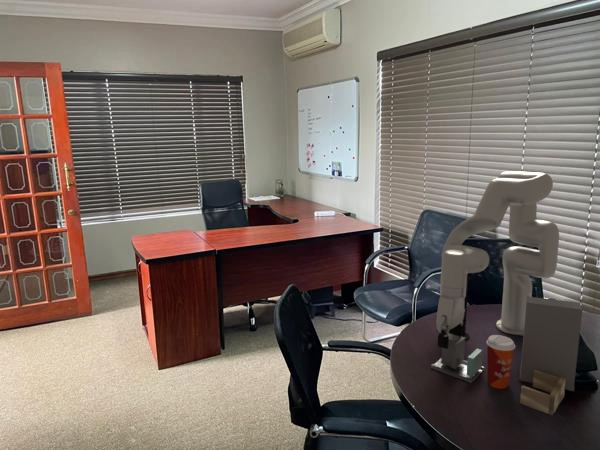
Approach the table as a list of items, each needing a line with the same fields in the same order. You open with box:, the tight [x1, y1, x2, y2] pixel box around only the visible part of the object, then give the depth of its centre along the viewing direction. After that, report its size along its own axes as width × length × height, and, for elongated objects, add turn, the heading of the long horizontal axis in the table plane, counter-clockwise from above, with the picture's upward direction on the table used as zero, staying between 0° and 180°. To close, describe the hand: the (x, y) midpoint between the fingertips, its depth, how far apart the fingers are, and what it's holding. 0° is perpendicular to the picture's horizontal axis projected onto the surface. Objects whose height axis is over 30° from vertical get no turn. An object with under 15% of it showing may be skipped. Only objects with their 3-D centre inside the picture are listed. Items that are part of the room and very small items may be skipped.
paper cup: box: [486, 334, 516, 390], centre depth 128 cm, size 8×8×14 cm
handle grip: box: [443, 273, 471, 342], centre depth 158 cm, size 10×26×10 cm
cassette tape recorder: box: [519, 296, 583, 392], centre depth 128 cm, size 14×6×25 cm, turn 64°
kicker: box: [440, 333, 483, 377], centre depth 137 cm, size 7×11×9 cm, turn 46°
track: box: [430, 358, 485, 384], centre depth 138 cm, size 10×13×1 cm
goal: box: [519, 370, 566, 416], centre depth 121 cm, size 12×8×6 cm
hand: (449, 342), depth 138 cm, fingers open, 9 cm apart
